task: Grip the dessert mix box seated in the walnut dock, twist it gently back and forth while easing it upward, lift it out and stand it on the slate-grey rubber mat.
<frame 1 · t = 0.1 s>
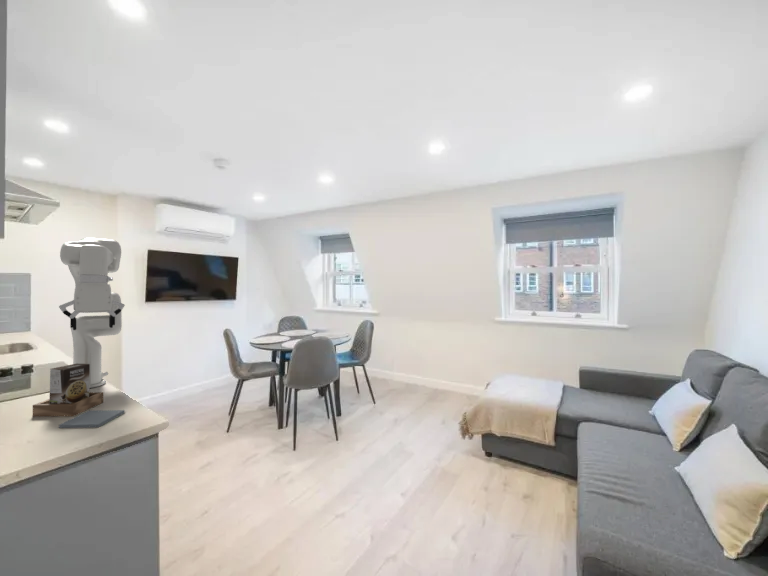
hand: (93, 328, 115), 31 cm above the counter, tool pointing down, fingers open, 9 cm apart
walnut dock: (70, 409, 121), on the counter
dessert mix box: (70, 409, 121), resting in walnut dock
slate mat: (93, 419, 112), on the counter
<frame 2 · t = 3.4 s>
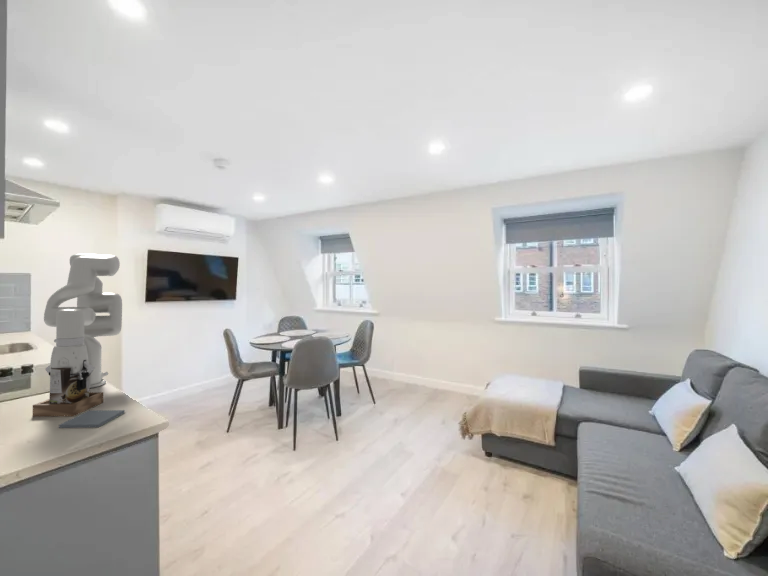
hand: (70, 389, 121), 7 cm above the counter, tool pointing down, fingers closed on dessert mix box, 7 cm apart
dessert mix box: (69, 409, 121), resting in walnut dock, touching gripper
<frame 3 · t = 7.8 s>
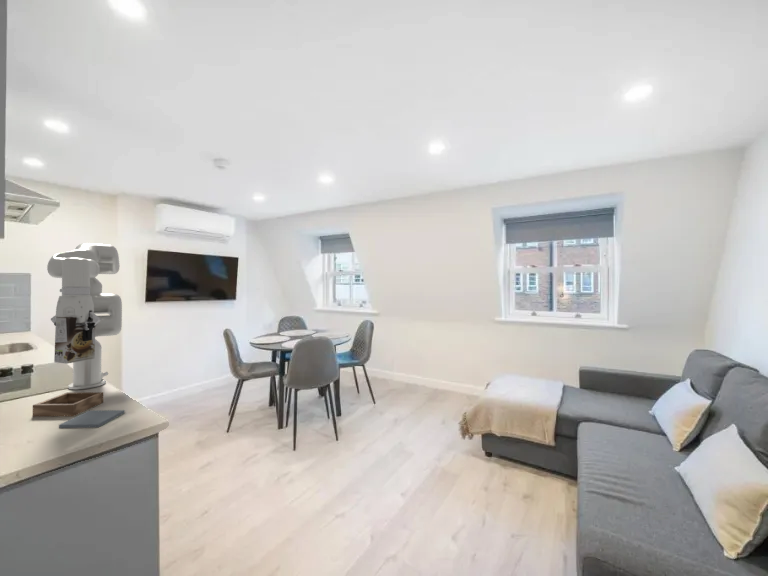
hand: (75, 340, 119), 26 cm above the counter, tool pointing down, fingers closed on dessert mix box, 7 cm apart
dessert mix box: (75, 361, 118), point 19 cm above the counter, touching gripper
when the fingers open (9 cm above the counter, at t = 12.4 s): dessert mix box stays where it is, resting on slate mat.
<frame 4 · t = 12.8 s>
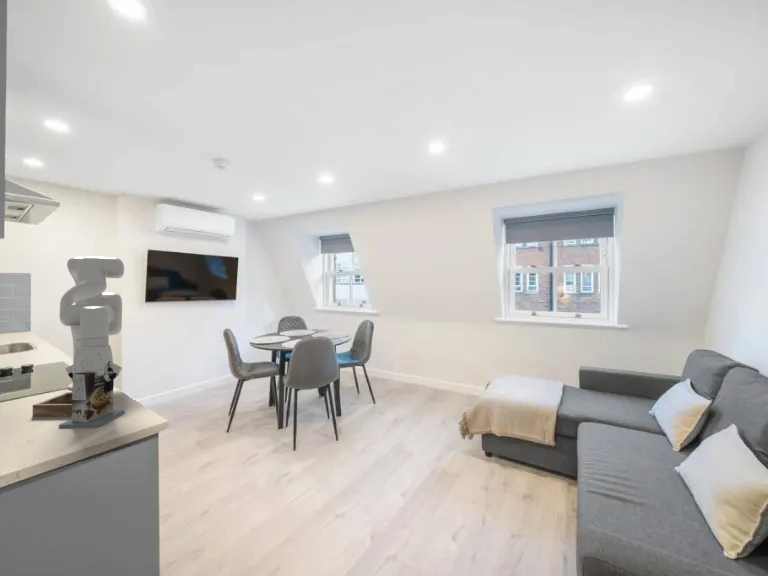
hand: (93, 391, 112), 10 cm above the counter, tool pointing down, fingers open, 9 cm apart
dessert mix box: (93, 417, 112), point 1 cm above the counter, touching slate mat
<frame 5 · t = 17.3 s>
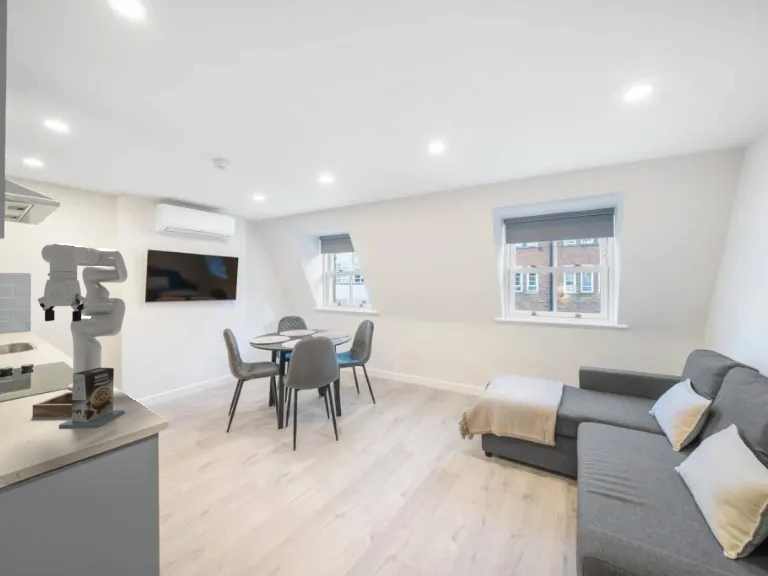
hand: (63, 321, 124), 32 cm above the counter, tool pointing down, fingers open, 9 cm apart
nothing on the counter moved.
at the end: dessert mix box inside the target area on the slate mat (0.2 cm from its centre), point 0.8 cm above the slate mat's base; dessert mix box tilted 0°; the gripper is holding nothing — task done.
